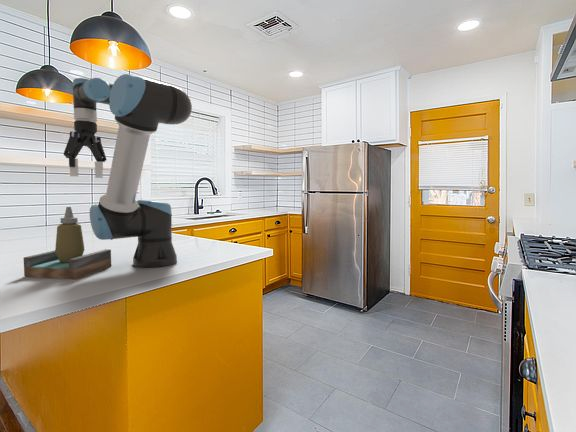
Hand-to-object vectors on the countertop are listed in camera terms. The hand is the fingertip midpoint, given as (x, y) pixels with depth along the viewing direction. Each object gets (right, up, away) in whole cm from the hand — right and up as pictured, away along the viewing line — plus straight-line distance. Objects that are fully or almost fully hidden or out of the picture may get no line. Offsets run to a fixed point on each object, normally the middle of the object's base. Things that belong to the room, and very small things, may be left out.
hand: (87, 177), depth 128 cm
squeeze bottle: (+6, -30, -19) cm, 37 cm away
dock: (+6, -33, -19) cm, 39 cm away
